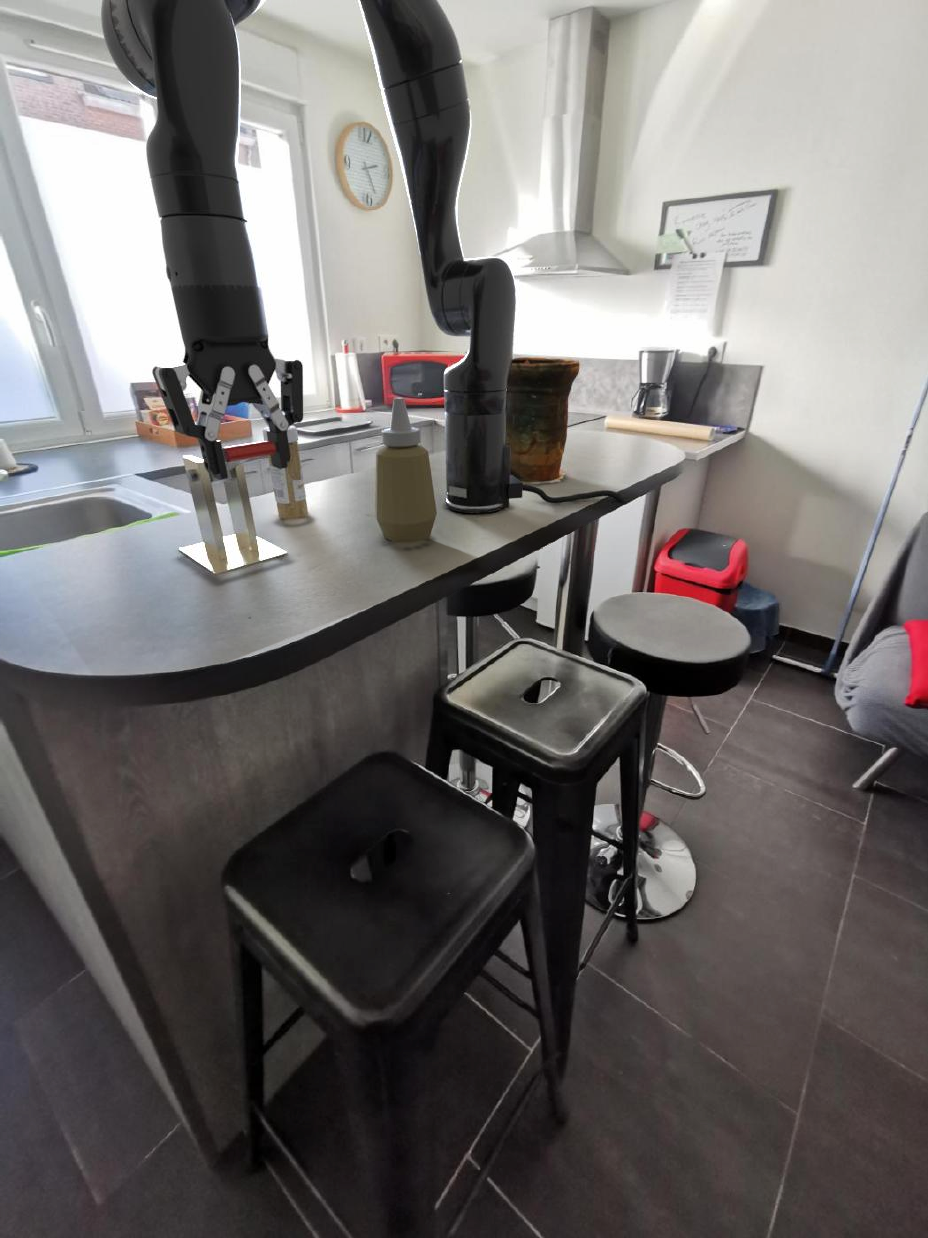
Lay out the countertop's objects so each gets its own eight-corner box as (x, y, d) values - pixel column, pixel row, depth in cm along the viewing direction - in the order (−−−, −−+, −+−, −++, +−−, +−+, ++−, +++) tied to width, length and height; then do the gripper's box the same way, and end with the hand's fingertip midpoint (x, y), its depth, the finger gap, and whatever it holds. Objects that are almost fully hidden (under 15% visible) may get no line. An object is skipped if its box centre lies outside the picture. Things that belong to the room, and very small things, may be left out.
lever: (278, 457, 58) (271, 433, 58) (231, 465, 55) (223, 440, 55) (235, 480, 68) (228, 460, 68) (193, 488, 65) (186, 467, 65)
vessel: (584, 482, 101) (595, 360, 92) (509, 489, 98) (512, 363, 89) (552, 465, 113) (559, 355, 104) (484, 470, 110) (485, 358, 101)
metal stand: (289, 562, 70) (271, 456, 64) (217, 583, 64) (190, 470, 58) (248, 540, 77) (229, 443, 71) (181, 558, 71) (153, 455, 65)
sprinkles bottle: (314, 522, 83) (301, 427, 77) (283, 528, 81) (267, 430, 75) (303, 514, 87) (290, 422, 80) (274, 519, 84) (257, 426, 78)
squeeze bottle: (390, 555, 71) (378, 404, 63) (369, 536, 77) (355, 396, 69) (447, 544, 74) (443, 399, 66) (423, 527, 81) (416, 392, 72)
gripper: (144, 277, 44) (195, 493, 51) (309, 283, 52) (331, 466, 60) (115, 282, 48) (166, 479, 56) (270, 287, 57) (296, 456, 65)
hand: (251, 471), depth 58 cm, fingers open, 6 cm apart
